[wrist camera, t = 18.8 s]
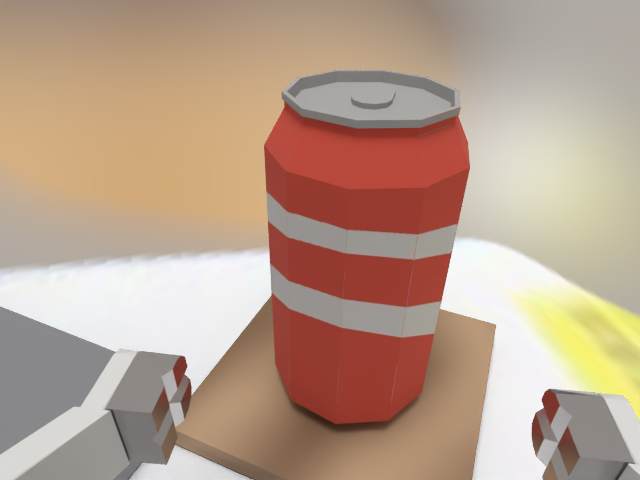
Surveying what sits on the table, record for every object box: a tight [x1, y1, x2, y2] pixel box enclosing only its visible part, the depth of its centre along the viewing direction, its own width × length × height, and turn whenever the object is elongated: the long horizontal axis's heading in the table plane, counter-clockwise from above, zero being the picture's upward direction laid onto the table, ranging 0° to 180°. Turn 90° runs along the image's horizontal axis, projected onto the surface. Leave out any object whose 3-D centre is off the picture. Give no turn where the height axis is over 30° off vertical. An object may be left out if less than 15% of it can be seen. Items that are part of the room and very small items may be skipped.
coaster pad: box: [175, 296, 496, 480], centre depth 21 cm, size 11×11×1 cm
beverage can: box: [264, 70, 470, 424], centre depth 17 cm, size 6×6×12 cm
